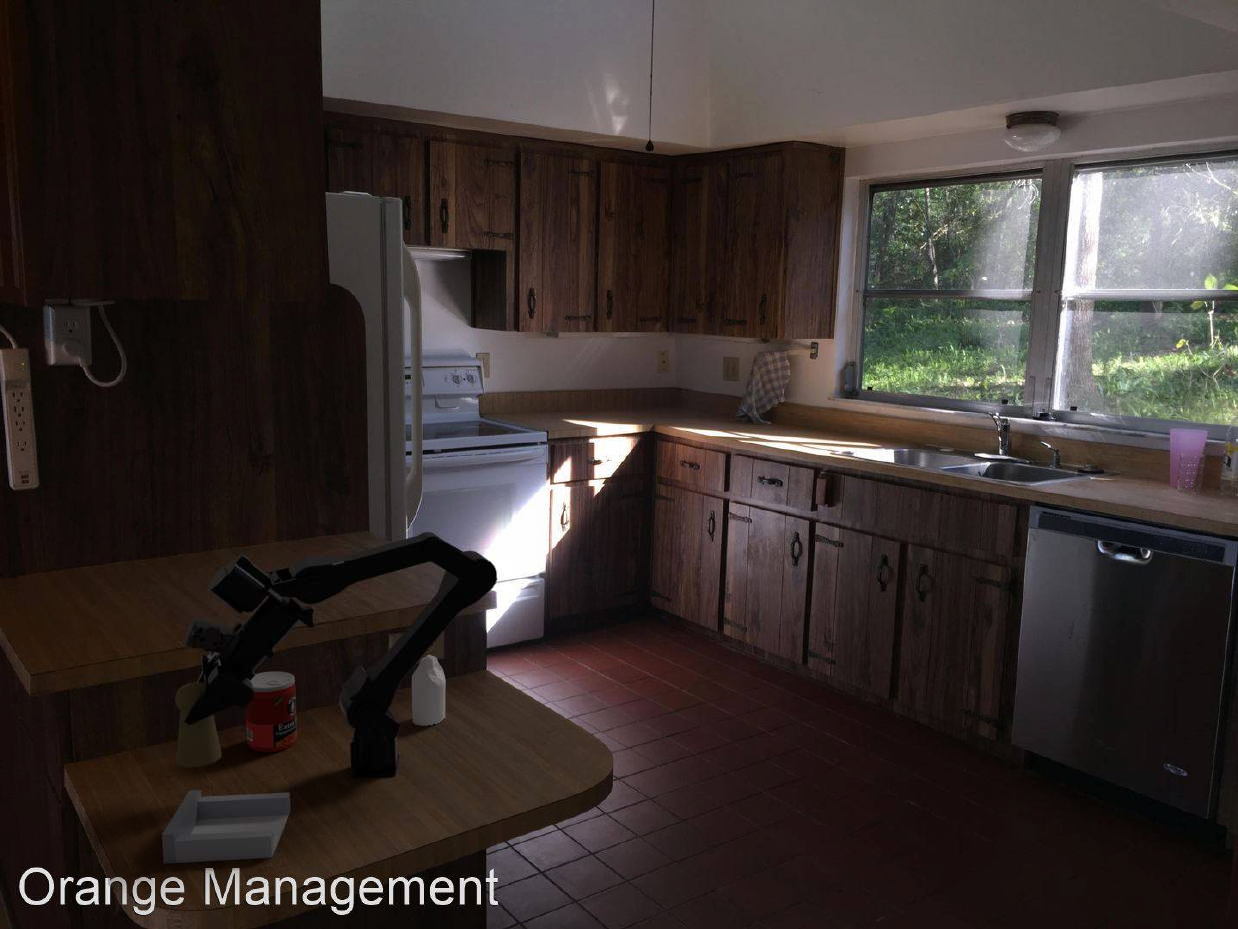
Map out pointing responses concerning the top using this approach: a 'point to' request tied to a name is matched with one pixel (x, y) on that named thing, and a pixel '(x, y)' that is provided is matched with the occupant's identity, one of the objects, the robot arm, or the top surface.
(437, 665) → the white milk jug
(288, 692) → the canned food
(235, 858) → the shallow grey tray
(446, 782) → the top surface
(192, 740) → the olive rounded tall piece
